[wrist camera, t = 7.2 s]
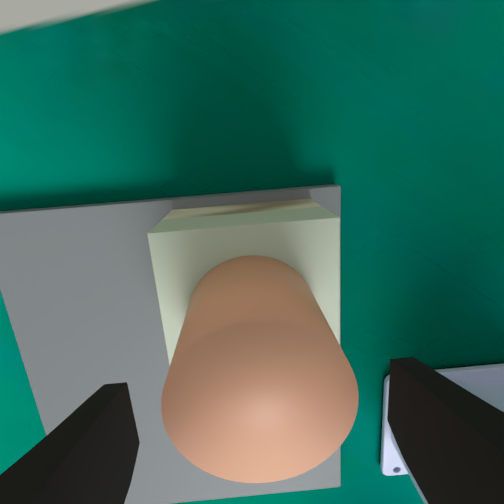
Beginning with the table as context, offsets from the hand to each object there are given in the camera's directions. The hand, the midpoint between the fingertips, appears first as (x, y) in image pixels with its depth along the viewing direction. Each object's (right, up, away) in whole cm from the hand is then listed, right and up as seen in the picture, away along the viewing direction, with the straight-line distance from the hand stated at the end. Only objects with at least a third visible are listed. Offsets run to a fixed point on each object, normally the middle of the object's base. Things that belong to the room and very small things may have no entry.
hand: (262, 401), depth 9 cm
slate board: (-4, -3, +11) cm, 12 cm away
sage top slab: (0, +2, +6) cm, 7 cm away
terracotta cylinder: (0, +2, +4) cm, 4 cm away
